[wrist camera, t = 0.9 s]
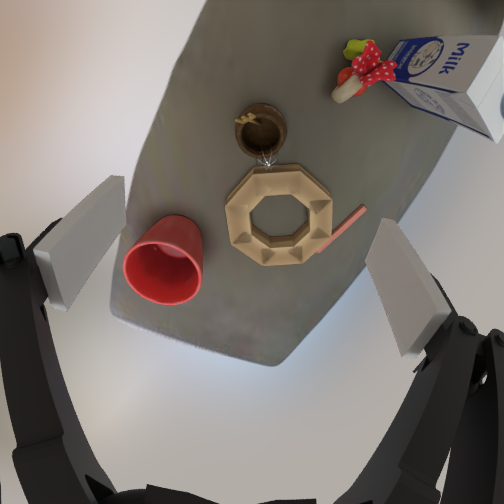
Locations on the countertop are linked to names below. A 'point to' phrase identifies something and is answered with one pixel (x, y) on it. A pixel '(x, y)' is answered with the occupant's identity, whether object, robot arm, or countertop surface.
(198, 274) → the flower pot
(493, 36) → the milk carton
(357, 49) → the bird rattle
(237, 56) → the countertop surface
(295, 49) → the countertop surface
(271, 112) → the utensil holder
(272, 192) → the octagonal ring
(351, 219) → the pink stick
